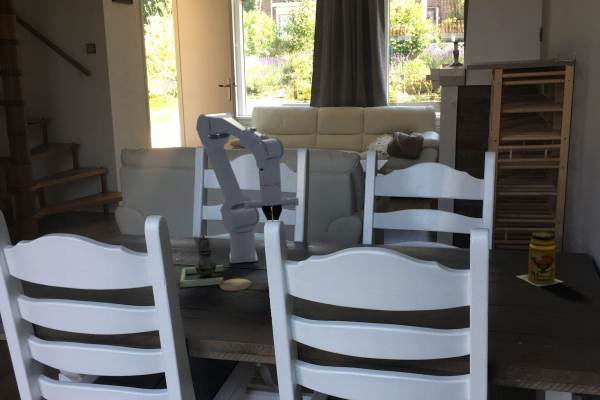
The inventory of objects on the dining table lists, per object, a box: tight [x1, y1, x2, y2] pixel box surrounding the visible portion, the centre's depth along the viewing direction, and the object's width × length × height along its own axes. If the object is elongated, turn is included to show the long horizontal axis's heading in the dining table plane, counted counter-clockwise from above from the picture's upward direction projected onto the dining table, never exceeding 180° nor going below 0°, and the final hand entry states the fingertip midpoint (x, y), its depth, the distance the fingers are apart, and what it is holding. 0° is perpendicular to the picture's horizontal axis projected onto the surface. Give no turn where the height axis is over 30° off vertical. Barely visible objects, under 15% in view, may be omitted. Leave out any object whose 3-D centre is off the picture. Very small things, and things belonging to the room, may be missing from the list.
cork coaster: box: [219, 278, 252, 292], centre depth 155 cm, size 8×8×1 cm
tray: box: [179, 264, 224, 288], centre depth 162 cm, size 12×11×2 cm
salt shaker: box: [194, 234, 217, 279], centre depth 161 cm, size 6×6×12 cm
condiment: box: [516, 231, 564, 287], centre depth 150 cm, size 7×8×12 cm
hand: (273, 233), depth 165 cm, fingers closed
